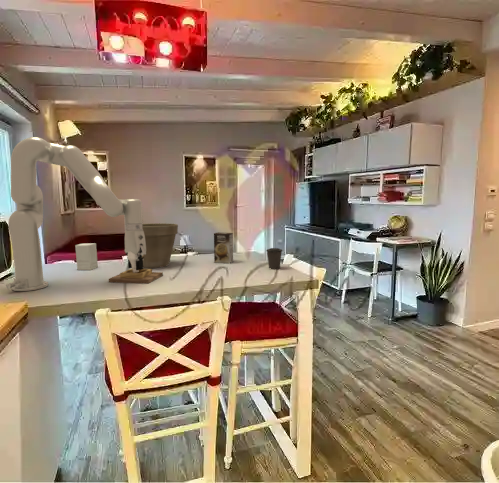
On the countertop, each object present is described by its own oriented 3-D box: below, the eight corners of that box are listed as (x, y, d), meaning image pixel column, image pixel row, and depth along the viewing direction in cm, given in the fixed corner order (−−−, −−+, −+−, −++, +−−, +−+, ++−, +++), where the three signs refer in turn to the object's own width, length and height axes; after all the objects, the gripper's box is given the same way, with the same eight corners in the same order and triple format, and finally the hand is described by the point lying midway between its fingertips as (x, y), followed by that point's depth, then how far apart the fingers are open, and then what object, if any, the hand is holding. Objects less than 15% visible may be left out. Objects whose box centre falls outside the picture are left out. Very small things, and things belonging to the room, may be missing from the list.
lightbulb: (128, 273, 161) (126, 248, 159) (142, 271, 163) (141, 247, 161) (128, 275, 155) (127, 250, 154) (143, 274, 157) (142, 249, 156)
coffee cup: (285, 269, 176) (285, 248, 175) (270, 270, 173) (270, 250, 172) (278, 266, 184) (278, 246, 183) (263, 267, 181) (263, 247, 180)
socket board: (148, 283, 150) (147, 275, 150) (108, 282, 153) (108, 274, 153) (162, 275, 165) (162, 268, 165) (126, 274, 168) (126, 267, 168)
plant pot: (162, 259, 207) (161, 221, 204) (188, 264, 190) (187, 223, 187) (121, 265, 189) (119, 224, 186) (145, 272, 172) (143, 227, 169)
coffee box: (213, 262, 195) (213, 233, 192) (218, 260, 201) (217, 232, 199) (229, 263, 192) (229, 233, 190) (233, 261, 198) (233, 232, 196)
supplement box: (98, 267, 186) (96, 243, 185) (90, 270, 179) (88, 245, 177) (84, 267, 187) (83, 243, 185) (76, 270, 180) (74, 245, 178)
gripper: (152, 228, 154) (154, 269, 156) (130, 226, 165) (132, 265, 167) (137, 229, 148) (139, 272, 150) (115, 227, 159) (117, 267, 161)
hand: (135, 268), depth 159 cm, fingers closed on lightbulb, 5 cm apart
